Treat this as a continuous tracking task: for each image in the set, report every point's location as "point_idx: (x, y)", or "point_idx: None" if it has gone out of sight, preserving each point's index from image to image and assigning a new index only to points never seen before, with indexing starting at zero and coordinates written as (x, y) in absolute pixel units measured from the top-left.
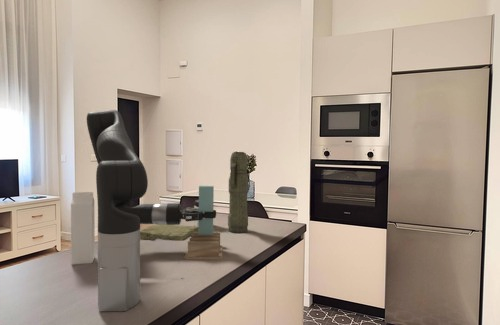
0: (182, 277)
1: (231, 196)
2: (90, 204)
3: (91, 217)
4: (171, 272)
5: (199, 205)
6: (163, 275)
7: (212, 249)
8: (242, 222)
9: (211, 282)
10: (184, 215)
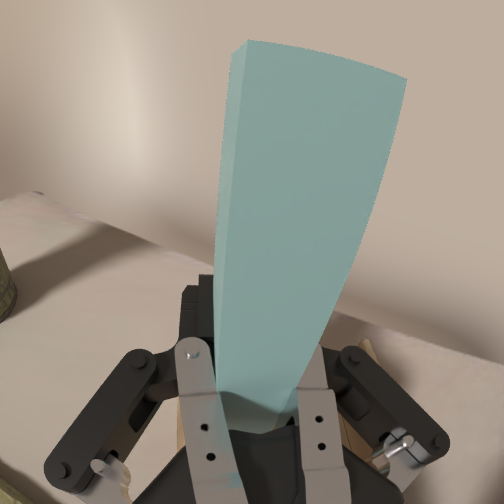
0: (481, 421)
1: None
2: None
3: None
4: (470, 462)
5: (310, 346)
6: (488, 467)
7: None
8: (4, 266)
9: (471, 357)
10: (403, 490)
